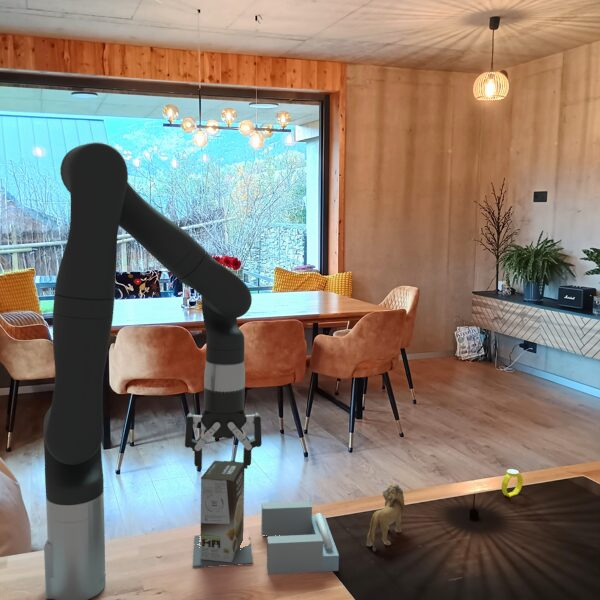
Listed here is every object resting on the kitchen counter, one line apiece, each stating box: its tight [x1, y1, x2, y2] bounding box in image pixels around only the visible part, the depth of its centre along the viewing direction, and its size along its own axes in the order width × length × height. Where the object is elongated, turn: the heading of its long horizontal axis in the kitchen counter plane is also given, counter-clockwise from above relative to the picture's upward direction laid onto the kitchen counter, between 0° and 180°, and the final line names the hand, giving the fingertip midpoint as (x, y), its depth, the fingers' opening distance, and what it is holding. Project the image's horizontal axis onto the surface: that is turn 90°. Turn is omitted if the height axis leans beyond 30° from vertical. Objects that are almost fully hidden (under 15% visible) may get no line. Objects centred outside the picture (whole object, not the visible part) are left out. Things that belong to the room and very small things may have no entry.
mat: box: [192, 534, 254, 568], centre depth 125 cm, size 11×11×1 cm
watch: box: [501, 468, 524, 498], centre depth 152 cm, size 6×3×6 cm, turn 123°
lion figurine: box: [365, 483, 405, 552], centre depth 131 cm, size 15×5×9 cm, turn 157°
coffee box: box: [200, 460, 245, 562], centre depth 123 cm, size 9×6×16 cm
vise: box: [260, 501, 340, 575], centre depth 125 cm, size 13×16×6 cm
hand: (222, 467), depth 122 cm, fingers open, 8 cm apart
